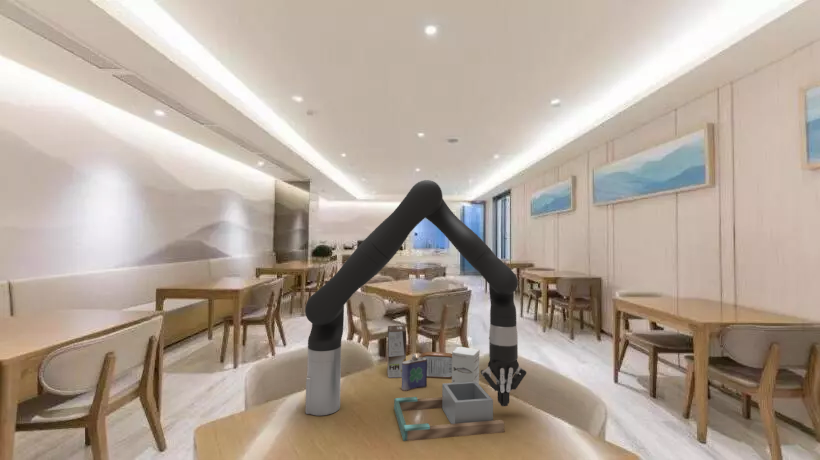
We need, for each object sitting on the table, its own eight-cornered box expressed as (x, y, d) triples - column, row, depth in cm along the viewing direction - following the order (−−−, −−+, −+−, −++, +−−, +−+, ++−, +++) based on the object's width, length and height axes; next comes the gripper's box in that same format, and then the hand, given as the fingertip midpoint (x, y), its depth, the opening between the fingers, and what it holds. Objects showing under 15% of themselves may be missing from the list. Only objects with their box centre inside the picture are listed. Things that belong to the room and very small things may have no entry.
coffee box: (406, 377, 123) (406, 331, 124) (387, 378, 123) (388, 331, 123) (403, 368, 133) (404, 325, 133) (386, 368, 132) (387, 325, 132)
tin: (459, 376, 125) (459, 352, 125) (459, 380, 122) (459, 355, 122) (416, 374, 126) (417, 350, 127) (416, 377, 123) (416, 353, 124)
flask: (404, 392, 111) (404, 358, 111) (399, 389, 114) (399, 355, 114) (428, 386, 116) (428, 353, 116) (423, 383, 118) (423, 351, 119)
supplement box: (450, 392, 112) (451, 351, 112) (457, 383, 118) (458, 345, 119) (473, 396, 108) (474, 355, 109) (479, 387, 115) (479, 348, 116)
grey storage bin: (455, 431, 88) (455, 402, 88) (442, 408, 100) (442, 383, 100) (492, 427, 90) (493, 399, 90) (476, 406, 101) (476, 381, 102)
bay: (403, 442, 83) (403, 428, 83) (394, 409, 100) (394, 398, 100) (504, 433, 88) (504, 420, 88) (479, 403, 104) (479, 392, 104)
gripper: (485, 345, 92) (485, 413, 92) (532, 343, 95) (533, 409, 94) (475, 338, 100) (475, 400, 99) (519, 336, 102) (519, 397, 101)
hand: (503, 404), depth 97 cm, fingers closed
